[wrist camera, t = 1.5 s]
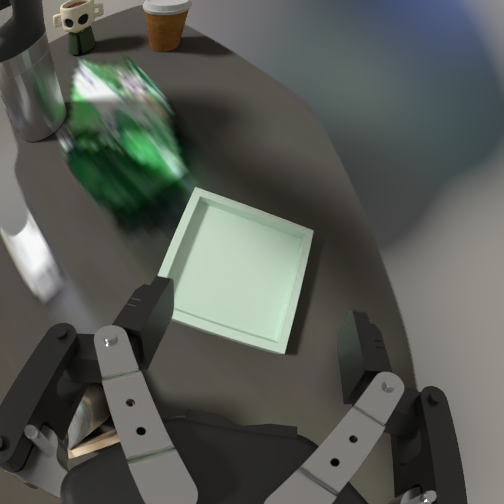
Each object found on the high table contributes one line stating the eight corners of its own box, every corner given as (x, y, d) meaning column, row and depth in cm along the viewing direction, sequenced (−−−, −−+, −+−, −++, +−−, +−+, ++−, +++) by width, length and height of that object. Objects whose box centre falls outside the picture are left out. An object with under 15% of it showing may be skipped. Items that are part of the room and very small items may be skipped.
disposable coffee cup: (174, 31, 52) (179, -12, 41) (194, 48, 51) (202, 1, 40) (135, 42, 48) (135, -3, 37) (153, 60, 47) (154, 10, 36)
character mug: (57, 63, 43) (47, 15, 31) (62, 47, 45) (55, 3, 33) (104, 51, 46) (101, 1, 34) (106, 37, 48) (104, -9, 36)
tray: (148, 311, 33) (145, 308, 30) (194, 196, 39) (195, 187, 37) (277, 354, 34) (284, 354, 32) (306, 237, 41) (313, 230, 38)
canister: (68, 412, 26) (-1, 441, 11) (78, 374, 28) (8, 382, 13) (107, 430, 27) (57, 478, 12) (118, 392, 29) (69, 418, 14)
